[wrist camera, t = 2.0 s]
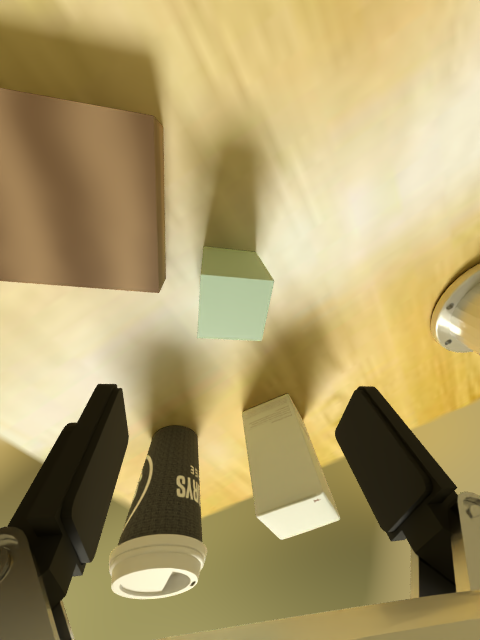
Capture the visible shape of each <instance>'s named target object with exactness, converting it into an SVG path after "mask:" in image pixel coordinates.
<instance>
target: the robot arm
mask: <svg viewBox="0 0 480 640" xmlns="http://www.w3.org/2000/svg"><path fill="white" fill-rule="evenodd" d="M431 332H432V336H433V338H434V339H435V341H436V342H437V343H439V344H440V345H441V346H442V347H444V348H446V349H447V350H449V351H453V352H462V353H464V352H473V351H474V352H476V353H477V354H479V355H480V263H479V264H478V265H476V266H474V267H473V268H471V269H469V270H468V271H466V272H465V273H464V274H463V275H461V276H460V277H459V278H458V279H457V280H455V281H454V282H453V283H452V284H451V285H450V286H449V288H448V289H447V290H446V291H445V292H444V294H443V295H442V296H441V298H440V300H439V301H438V303H437V305H436V307H435V309H434V312H433V314H432V319H431ZM335 436H336V439H337V441H338V443H339V445H340V447H341V449H342V451H343V453H344V455H345V457H346V459H347V461H348V463H349V465H350V467H351V469H352V471H353V473H354V475H355V477H356V479H357V481H358V483H359V485H360V487H361V489H362V491H363V493H364V495H365V497H366V499H367V501H368V503H369V505H370V507H371V509H372V511H373V513H374V515H375V517H376V519H377V521H378V523H379V525H380V527H381V528H382V529H383V530H384V531H385V532H386V533H387V535H388V536H389V538H390V540H391V541H399V540H405V539H407V540H408V542H409V544H410V546H411V578H410V599H406V600H399V601H393V602H386V603H380V604H373V605H367V606H359V607H353V608H347V609H340V610H334V611H328V612H321V613H315V614H308V615H302V616H295V617H290V618H283V619H276V620H270V621H264V622H257V623H251V624H245V625H239V626H233V627H226V628H220V629H214V630H208V631H202V632H196V633H190V634H183V635H177V636H171V637H166V638H160V639H155V640H480V496H479V495H477V494H474V493H471V492H462V493H460V494H459V495H457V494H456V492H455V491H454V490H455V489H456V488H457V487H456V485H455V484H454V483H453V482H452V481H451V479H450V478H449V477H448V476H447V474H446V473H445V472H444V471H443V469H442V468H441V467H440V466H439V465H438V463H437V462H436V461H435V460H434V459H433V457H432V456H431V455H430V454H429V452H428V451H427V450H426V449H425V447H424V446H423V445H422V444H421V443H420V441H419V440H418V439H417V438H416V436H415V435H414V434H413V433H412V431H411V430H410V429H409V428H408V426H407V425H406V424H405V423H404V422H403V420H402V419H401V418H400V417H399V415H398V414H397V413H396V412H395V411H394V409H393V408H392V407H391V406H390V404H389V403H388V402H387V401H386V400H385V398H384V397H383V396H382V395H381V393H380V392H379V391H378V390H377V389H376V388H375V387H367V386H360V387H358V388H357V390H355V391H354V393H353V395H352V397H351V399H350V401H349V403H348V405H347V407H346V409H345V411H344V414H343V416H342V418H341V420H340V422H339V424H338V426H337V428H336V431H335ZM128 438H129V435H128V427H127V420H126V413H125V405H124V398H123V391H122V388H117V385H116V384H98V385H97V387H96V388H95V390H94V392H93V394H92V396H91V398H90V400H89V401H88V403H87V405H86V407H85V409H84V411H83V413H82V415H81V417H80V418H79V420H78V422H77V423H69V424H67V425H66V426H65V427H64V429H63V430H62V432H61V434H60V435H59V437H58V439H57V441H56V442H55V444H54V446H53V448H52V449H51V451H50V453H49V455H48V456H47V458H46V460H45V462H44V463H43V465H42V467H41V469H40V470H39V472H38V474H37V476H36V477H35V479H34V481H33V483H32V484H31V486H30V488H29V490H28V492H27V493H26V495H25V497H24V499H23V500H22V502H21V504H20V505H19V507H18V509H17V511H16V513H15V514H14V516H13V518H12V519H11V521H10V523H9V525H8V526H7V527H2V528H0V640H74V636H73V633H72V630H71V627H70V624H69V620H68V617H67V614H66V611H65V608H64V605H63V602H62V599H63V598H64V597H65V596H66V593H67V590H68V587H69V584H70V581H71V578H72V576H81V575H82V574H83V572H84V568H85V565H86V563H90V562H92V560H93V558H94V556H95V553H96V550H97V546H98V543H99V540H100V536H101V533H102V529H103V526H104V522H105V519H106V516H107V512H108V509H109V505H110V502H111V499H112V496H113V492H114V489H115V485H116V482H117V479H118V475H119V472H120V468H121V465H122V462H123V458H124V455H125V452H126V448H127V445H128Z"/></svg>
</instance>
